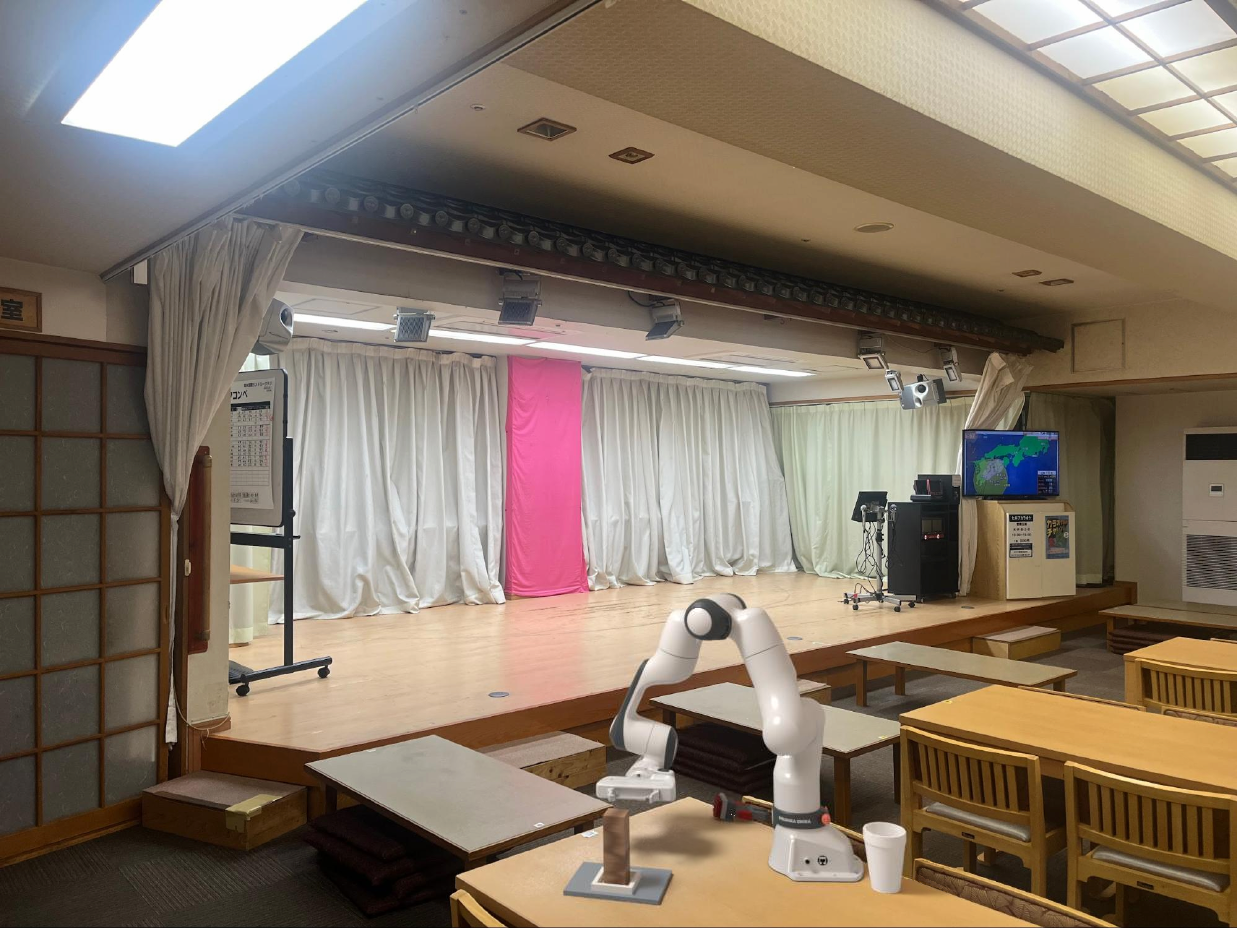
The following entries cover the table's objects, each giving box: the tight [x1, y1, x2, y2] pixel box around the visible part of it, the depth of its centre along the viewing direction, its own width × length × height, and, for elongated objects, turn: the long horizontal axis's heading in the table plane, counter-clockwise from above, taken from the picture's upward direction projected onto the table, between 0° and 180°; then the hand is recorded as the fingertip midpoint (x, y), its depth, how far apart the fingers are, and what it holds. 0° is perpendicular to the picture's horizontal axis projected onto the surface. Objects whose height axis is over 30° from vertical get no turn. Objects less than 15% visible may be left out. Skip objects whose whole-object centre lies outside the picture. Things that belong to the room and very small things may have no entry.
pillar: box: [602, 807, 631, 886], centre depth 197 cm, size 5×5×16 cm
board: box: [562, 861, 673, 906], centre depth 199 cm, size 22×16×1 cm
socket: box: [591, 867, 641, 895], centre depth 197 cm, size 10×10×2 cm
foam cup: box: [862, 821, 907, 895], centre depth 196 cm, size 10×9×13 cm
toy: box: [712, 792, 771, 823], centre depth 240 cm, size 9×6×15 cm
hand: (629, 799), depth 209 cm, fingers open, 8 cm apart
